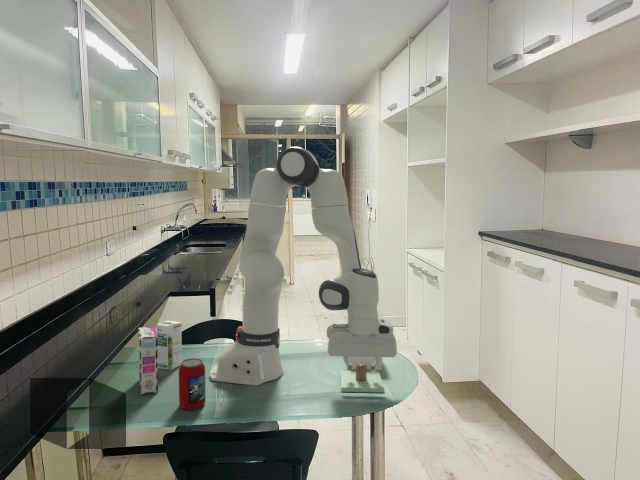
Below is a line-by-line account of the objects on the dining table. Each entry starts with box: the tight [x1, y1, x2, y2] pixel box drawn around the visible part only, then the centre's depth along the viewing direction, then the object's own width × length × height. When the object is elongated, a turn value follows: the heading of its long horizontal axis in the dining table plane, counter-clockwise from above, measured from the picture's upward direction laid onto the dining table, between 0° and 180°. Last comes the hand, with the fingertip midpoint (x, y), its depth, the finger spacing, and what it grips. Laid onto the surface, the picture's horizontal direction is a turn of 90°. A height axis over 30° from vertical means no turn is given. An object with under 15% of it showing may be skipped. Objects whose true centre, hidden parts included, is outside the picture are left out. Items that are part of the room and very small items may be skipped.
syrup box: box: [155, 320, 183, 372], centre depth 147 cm, size 6×6×14 cm
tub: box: [348, 356, 383, 371], centre depth 150 cm, size 11×11×8 cm
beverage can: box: [178, 357, 206, 411], centre depth 121 cm, size 7×7×12 cm
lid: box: [339, 363, 385, 393], centre depth 135 cm, size 12×12×7 cm
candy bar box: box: [137, 325, 159, 396], centre depth 132 cm, size 11×5×16 cm, turn 23°
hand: (361, 370), depth 134 cm, fingers open, 6 cm apart
